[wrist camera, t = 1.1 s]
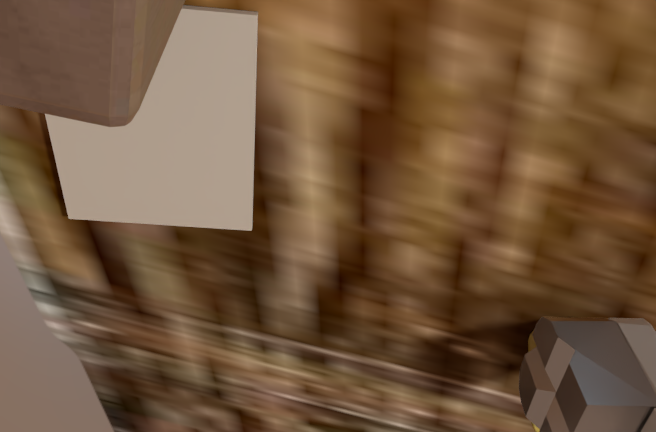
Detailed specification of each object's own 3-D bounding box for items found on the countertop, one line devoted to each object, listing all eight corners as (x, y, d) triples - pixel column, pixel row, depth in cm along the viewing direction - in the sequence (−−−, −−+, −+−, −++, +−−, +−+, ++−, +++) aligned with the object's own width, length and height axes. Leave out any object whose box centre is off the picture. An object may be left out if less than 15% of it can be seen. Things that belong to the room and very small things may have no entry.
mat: (20, -10, 42) (17, -7, 42) (257, 11, 43) (257, 15, 43) (70, 214, 55) (68, 218, 55) (252, 226, 56) (251, 230, 56)
